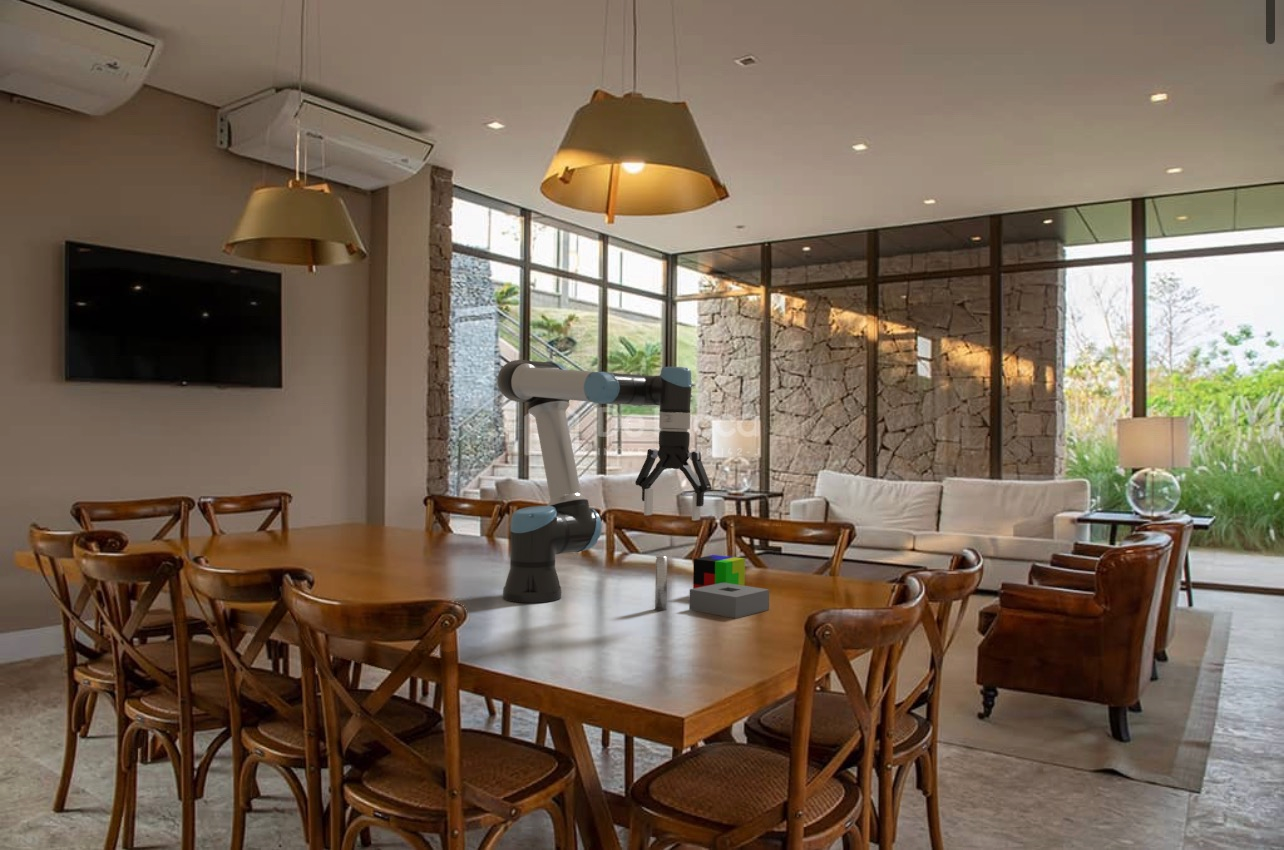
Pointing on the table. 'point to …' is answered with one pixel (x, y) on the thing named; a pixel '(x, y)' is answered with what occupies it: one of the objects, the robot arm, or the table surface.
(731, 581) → the puzzle toy
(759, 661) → the table surface
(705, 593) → the socket block
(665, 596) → the pin
